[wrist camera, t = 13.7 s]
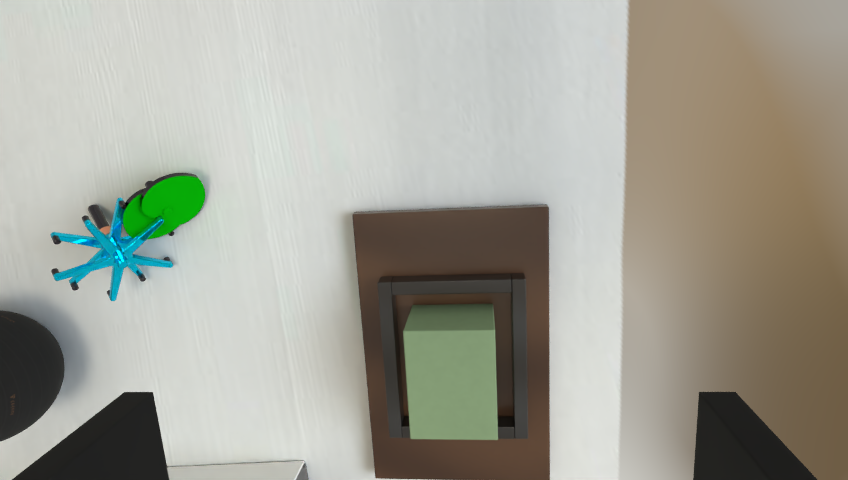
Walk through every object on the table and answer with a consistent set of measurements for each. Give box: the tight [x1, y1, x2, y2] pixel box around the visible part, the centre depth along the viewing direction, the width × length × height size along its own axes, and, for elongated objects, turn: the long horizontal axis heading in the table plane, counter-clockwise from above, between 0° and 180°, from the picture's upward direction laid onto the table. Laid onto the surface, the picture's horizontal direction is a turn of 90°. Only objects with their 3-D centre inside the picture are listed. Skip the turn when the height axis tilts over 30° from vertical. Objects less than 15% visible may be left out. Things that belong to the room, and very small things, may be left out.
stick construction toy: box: [51, 173, 205, 301], centre depth 39 cm, size 12×7×8 cm
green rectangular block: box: [403, 304, 498, 440], centre depth 37 cm, size 8×6×5 cm
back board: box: [353, 205, 550, 480], centre depth 39 cm, size 22×14×2 cm, turn 3°
